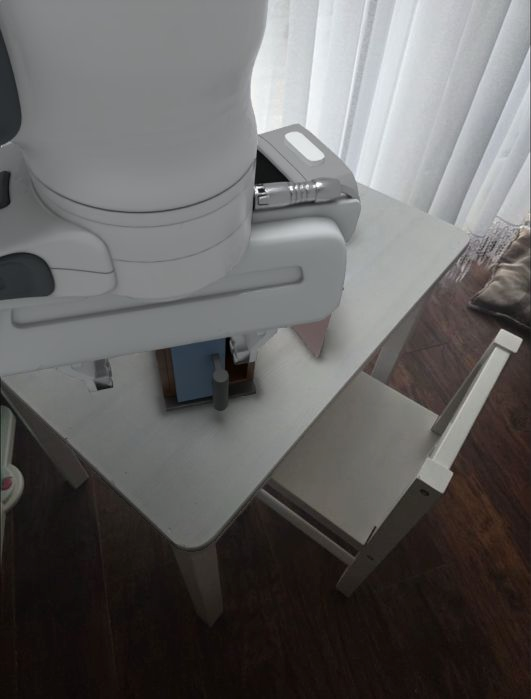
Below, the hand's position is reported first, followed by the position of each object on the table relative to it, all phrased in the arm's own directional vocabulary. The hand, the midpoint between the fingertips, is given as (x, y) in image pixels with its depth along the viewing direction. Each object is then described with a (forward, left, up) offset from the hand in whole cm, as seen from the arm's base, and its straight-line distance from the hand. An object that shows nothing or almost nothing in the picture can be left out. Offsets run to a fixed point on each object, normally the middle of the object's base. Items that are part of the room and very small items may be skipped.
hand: (174, 367), depth 33 cm
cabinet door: (+4, +11, -28) cm, 30 cm away
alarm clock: (+26, +45, -29) cm, 60 cm away
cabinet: (+5, +20, -29) cm, 36 cm away
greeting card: (+20, +22, -29) cm, 42 cm away
